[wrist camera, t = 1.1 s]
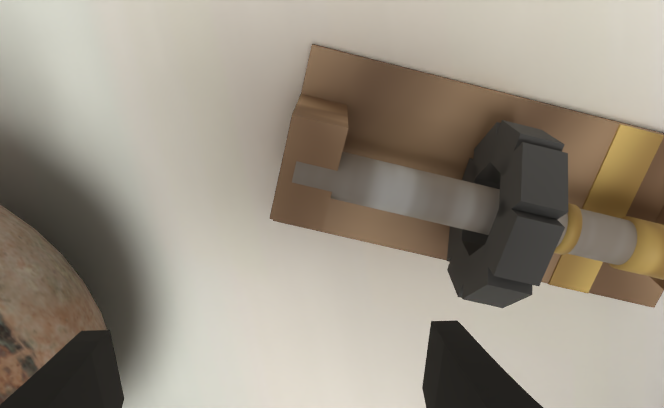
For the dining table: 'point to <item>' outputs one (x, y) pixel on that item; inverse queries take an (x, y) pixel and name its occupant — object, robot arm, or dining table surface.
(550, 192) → the dark grey hex nut
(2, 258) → the cooking pot
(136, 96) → the dining table surface
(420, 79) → the pipe stand
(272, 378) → the dining table surface
